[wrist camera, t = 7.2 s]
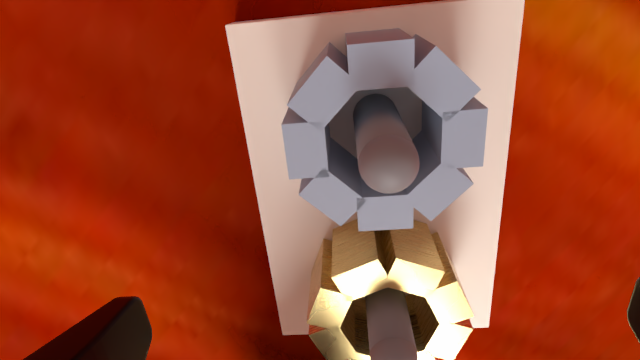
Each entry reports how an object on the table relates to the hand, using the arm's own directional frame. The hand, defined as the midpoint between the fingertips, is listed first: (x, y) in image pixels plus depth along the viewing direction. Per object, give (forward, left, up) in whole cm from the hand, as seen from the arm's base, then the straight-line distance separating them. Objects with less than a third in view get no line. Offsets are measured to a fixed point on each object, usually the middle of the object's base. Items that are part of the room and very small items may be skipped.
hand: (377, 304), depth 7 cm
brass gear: (-7, -1, -10) cm, 13 cm away
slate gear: (+1, -1, -10) cm, 10 cm away
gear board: (-3, -1, -12) cm, 12 cm away
